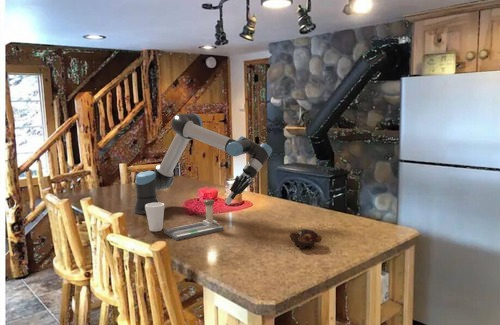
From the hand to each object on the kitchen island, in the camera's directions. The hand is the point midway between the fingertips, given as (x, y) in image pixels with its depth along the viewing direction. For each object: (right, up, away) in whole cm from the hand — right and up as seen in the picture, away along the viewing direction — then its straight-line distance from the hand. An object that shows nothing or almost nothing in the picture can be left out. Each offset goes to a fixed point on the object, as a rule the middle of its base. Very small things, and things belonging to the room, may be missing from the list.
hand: (226, 203), depth 213 cm
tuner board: (-17, -13, -10) cm, 23 cm away
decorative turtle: (+37, -16, -33) cm, 52 cm away
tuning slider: (-7, -11, -6) cm, 14 cm away
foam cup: (-36, -13, -5) cm, 39 cm away
